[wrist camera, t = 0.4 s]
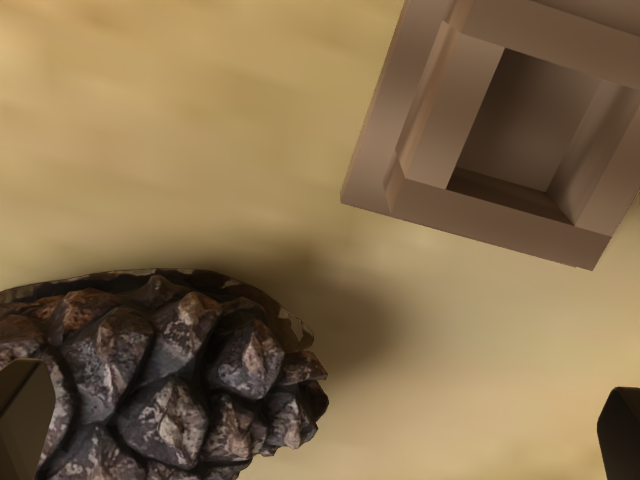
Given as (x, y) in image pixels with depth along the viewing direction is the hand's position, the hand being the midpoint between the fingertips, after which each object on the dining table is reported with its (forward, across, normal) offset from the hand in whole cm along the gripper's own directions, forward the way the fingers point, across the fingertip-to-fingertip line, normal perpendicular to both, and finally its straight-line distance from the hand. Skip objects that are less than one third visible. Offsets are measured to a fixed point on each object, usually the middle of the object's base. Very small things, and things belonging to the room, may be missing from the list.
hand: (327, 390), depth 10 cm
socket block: (+15, -6, +1) cm, 17 cm away
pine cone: (+14, +9, +12) cm, 20 cm away
